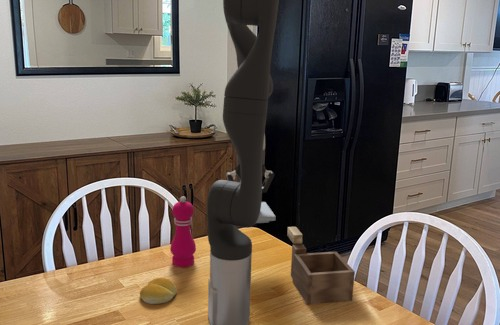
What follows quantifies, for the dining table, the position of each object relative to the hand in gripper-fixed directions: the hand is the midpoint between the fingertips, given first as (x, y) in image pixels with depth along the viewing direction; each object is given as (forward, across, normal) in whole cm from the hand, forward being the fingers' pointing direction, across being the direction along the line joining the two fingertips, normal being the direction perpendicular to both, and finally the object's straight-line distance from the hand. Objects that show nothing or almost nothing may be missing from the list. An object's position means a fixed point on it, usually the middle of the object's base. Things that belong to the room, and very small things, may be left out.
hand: (249, 206), depth 138 cm
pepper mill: (+18, +18, -4) cm, 26 cm away
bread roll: (+18, +26, +14) cm, 34 cm away
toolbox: (+18, -16, +16) cm, 29 cm away
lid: (+3, 0, 0) cm, 3 cm away
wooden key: (+8, -12, +6) cm, 15 cm away
